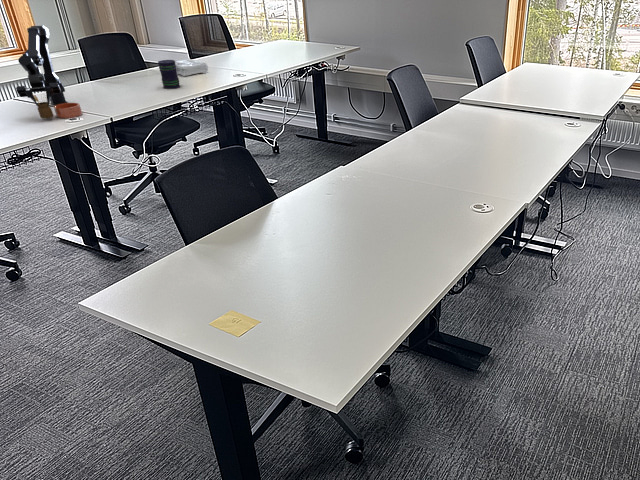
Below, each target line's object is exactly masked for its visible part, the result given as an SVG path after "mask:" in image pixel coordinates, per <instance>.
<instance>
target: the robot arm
mask: <svg viewBox="0 0 640 480" xmlns="http://www.w3.org/2000/svg"><path fill="white" fill-rule="evenodd" d="M26 31H27V34H28V35H27V39H28V40H27V49H26V50H25V51H24V53H22V55H21V56H19V58H18V64H19V65H20V66H21V67H22V68H23V70H24V71H25V72H27V78H28V83H29V86H30V87H29V86H28V87H26V85H17V86H16V87H15V90H16V93H17V94H18V97H20V98H28V99H31V100H32V101H33V103H34V104H35V105H36V106H37V107H38V105H37V103H38V102H37V101H36V100H35V98H34V97H35V96H33V95H34V93H40V92H45V95H46V96H45V97H46V102H48V105H49V106H50V104H51V105H53V106H55V105H58V104H62V103H69V102H68V101H66V97H65V94H64V93H65V92H66V88H65V86H64V84H63V83H62V81H61V80H60V78H59V76H58V75H57V74H56V73H55V70H54V66H53V61H52V58H51V54H50V50H49V46H48V44H49V41H50V31H49V28H48V27H46V26H45V25H30V27H27V29H26ZM41 66H42V69H43V72H41V68H40V67H41Z"/></svg>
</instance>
